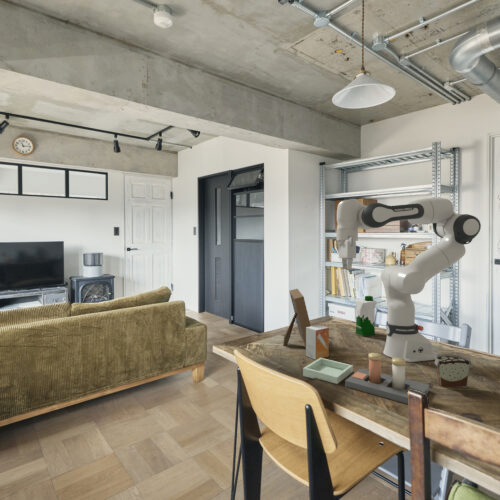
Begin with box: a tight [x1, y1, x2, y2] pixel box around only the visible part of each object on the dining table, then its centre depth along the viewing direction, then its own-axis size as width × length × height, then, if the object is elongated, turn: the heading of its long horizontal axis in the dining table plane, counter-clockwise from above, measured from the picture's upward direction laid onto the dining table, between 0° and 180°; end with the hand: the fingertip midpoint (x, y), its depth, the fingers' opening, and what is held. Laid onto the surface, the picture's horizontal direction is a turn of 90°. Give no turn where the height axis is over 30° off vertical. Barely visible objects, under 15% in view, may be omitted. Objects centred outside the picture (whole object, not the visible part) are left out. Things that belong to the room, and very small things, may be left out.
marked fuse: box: [367, 352, 383, 385], centre depth 125 cm, size 4×4×11 cm
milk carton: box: [354, 295, 377, 337], centre depth 187 cm, size 9×9×20 cm
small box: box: [305, 324, 330, 361], centre depth 156 cm, size 8×6×13 cm
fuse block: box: [344, 368, 430, 405], centre depth 122 cm, size 24×14×3 cm, turn 51°
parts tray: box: [302, 357, 354, 385], centre depth 136 cm, size 14×14×3 cm
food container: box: [434, 353, 472, 388], centre depth 126 cm, size 12×6×10 cm, turn 92°
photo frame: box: [282, 288, 312, 348], centre depth 175 cm, size 15×22×25 cm
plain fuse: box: [391, 357, 407, 391], centre depth 120 cm, size 4×4×11 cm
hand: (346, 269), depth 151 cm, fingers open, 8 cm apart
